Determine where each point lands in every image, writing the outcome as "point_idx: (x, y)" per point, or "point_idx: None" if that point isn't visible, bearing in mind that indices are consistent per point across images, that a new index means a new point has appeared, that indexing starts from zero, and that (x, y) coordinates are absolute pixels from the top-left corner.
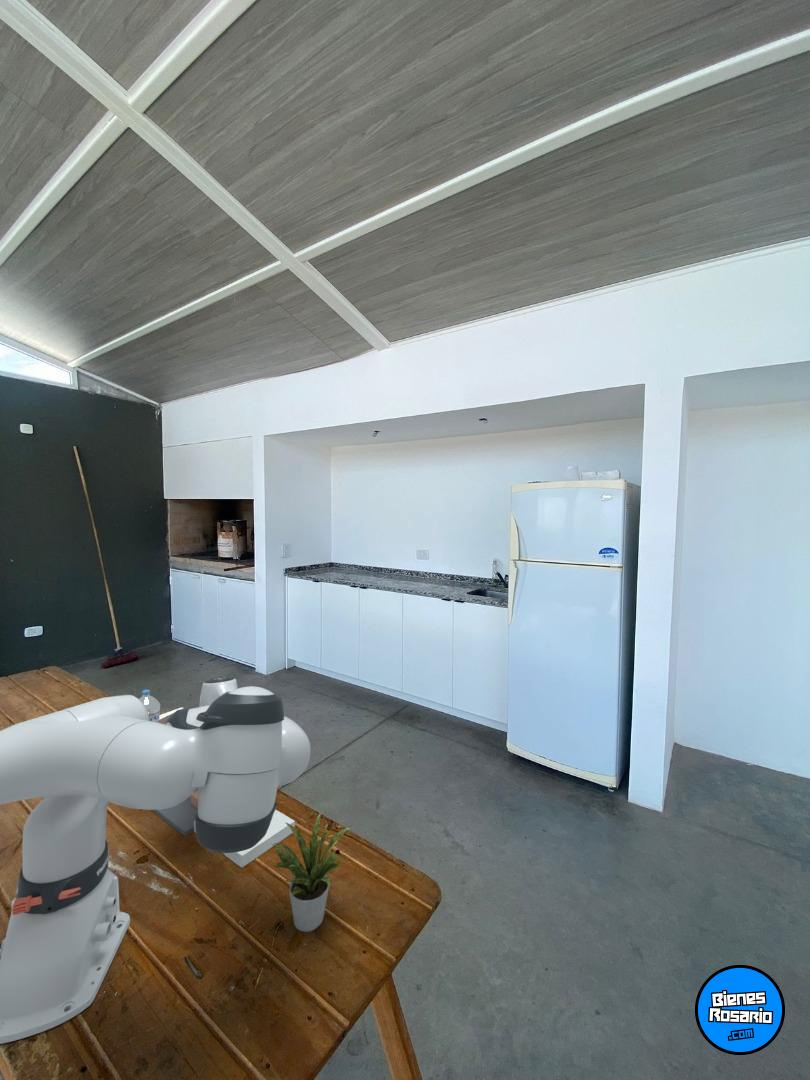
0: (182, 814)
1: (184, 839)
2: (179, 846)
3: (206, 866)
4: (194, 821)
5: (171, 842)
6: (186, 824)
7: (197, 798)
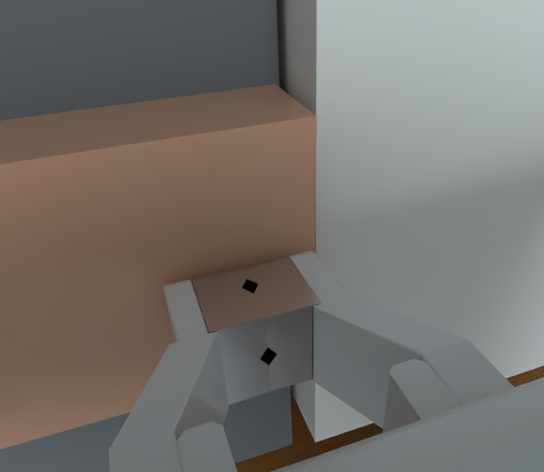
0: (80, 451)
1: (305, 422)
2: (335, 441)
3: (540, 367)
4: (320, 440)
5: (274, 469)
6: (228, 435)
7: (46, 432)
